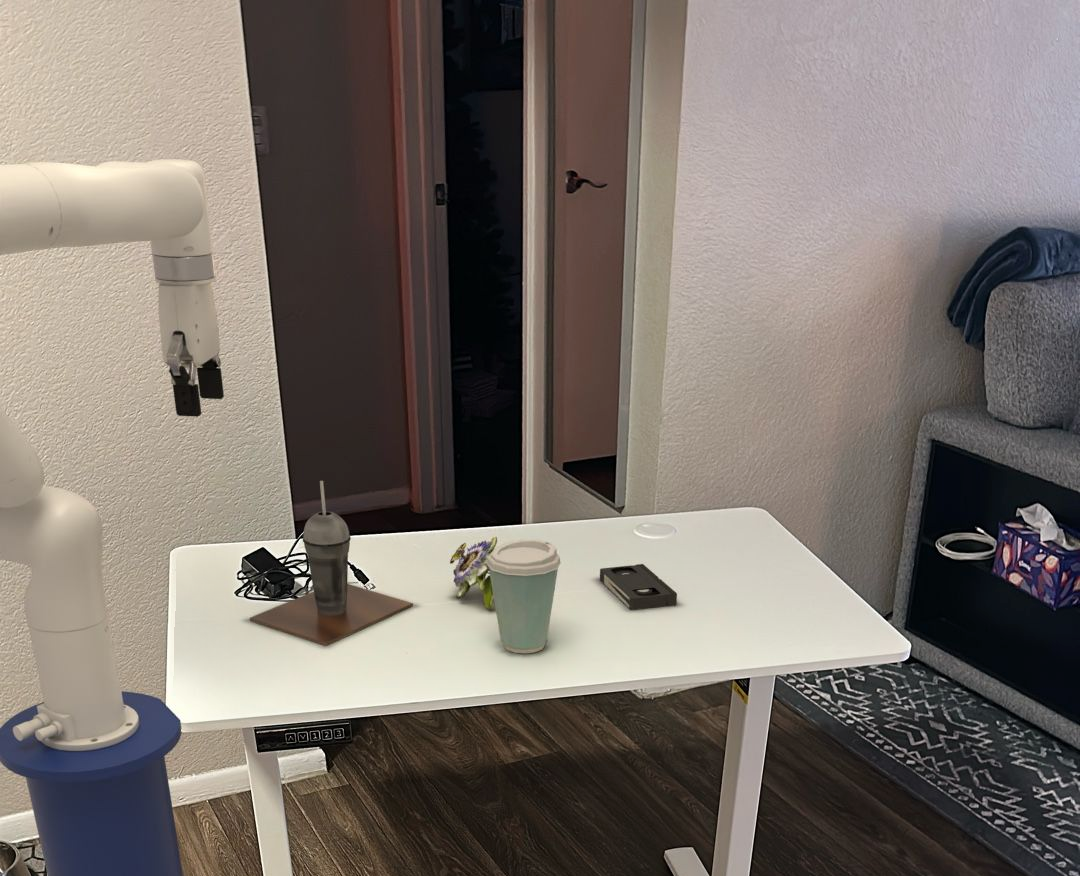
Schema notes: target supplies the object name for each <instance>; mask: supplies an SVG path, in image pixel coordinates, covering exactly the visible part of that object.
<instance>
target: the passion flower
mask: <svg viewBox="0 0 1080 876" xmlns="http://www.w3.org/2000/svg"><path fill="white" fill-rule="evenodd" d="M497 543H498V537H497V536H493V537H492V538H491V540H490V541H489V540H488V541H487V540H486V539H485V540H483V541H481V542H479V541H478V543H474V544H473V545H470V548H469V547H467V543H466V542H464V543H462V544H461V545H460V546H459V547H457V549H456V550H455V552H454V553H453V554H452V555H451V558H450V560H449V564H450V565H453V564H454V562H455V561H458V562H457V564H456V565H455V567H454V569H453V571H452V573H453V575H454V578H453V583H454V584H455V587H457V588H458V592H457V594H455V597H456V598H459V599H461V598H462V597H464V596H466V594H467V593H468V592H469V591H470V589H471V587H474V586H476V585H478V588H479V589H480V591H481V592H482V596H483V602H484V603H483V604H484V607H485V608H486V609H487V610H489V611H490V612H492V611H493V610H494V609H493V608H494V606H493V605H494V604H495V602H494V596H493V590H492V585H491V579H490V573H489V567H488V565H487V558H488V557H489V555H490V554H491V553H492V551H493V550H494V548H496V547H497ZM466 550H467V552H466ZM465 553H466V554H465Z"/></svg>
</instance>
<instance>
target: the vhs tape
mask: <svg viewBox="0 0 1080 876" xmlns="http://www.w3.org/2000/svg"><path fill="white" fill-rule="evenodd" d="M599 581H600V583H602V584H603V585H604V586H605V587H606V588H607V589H608V590H609V591H610V592H611V593H612V594H613V595H614V596H615V597H616V598H618V600H619V601H620V602H622V603H623V605H625V606H626V607H627V608H628V609H629V610H631V611H635V610H644V609H652V608H662V607H666V606H667V607H670V606H671V607H672V606H677V600H678V593H677V592H676V591H675V590H673V589H672V587H670V586H669V585H668V584H667V583H666V582H665V581H663V580H662V579H661V578H659V576H657V575H656V573H654V572H653V571H652V570H651V569H649V568H648V567H647V566H646V565H645V564H644V563H638V564H634V565H632V564H631V565H622V566H621V565H620V566H613V567H611V566H610V567H602V568H600V569H599Z"/></svg>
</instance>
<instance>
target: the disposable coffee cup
mask: <svg viewBox="0 0 1080 876" xmlns="http://www.w3.org/2000/svg"><path fill="white" fill-rule="evenodd" d="M557 551H558V550H557V547H556V546H555V545H554V544H553V543H551V542H550V541H546V540H542V539H537V538H535V539H519V540H514V541H508V542H505V543H502V544H501V545H498V546H495V548H494V550H493V551H492V553H491V554H490V555H489V557H488V558H487V565H488V567H489V571H488V572H489V573H490V574H489V575H490V579H491V585H492V590H493V596H494V607H495V615H496V619H497V625H498V631H499V637H500V638H499V639H500V642H501V643H502V646H503V648H504V649H505V650H506V651H508V652H511V653H515V654H532V653H537V652H539V651H541V650H543V649H544V647H545V646H546V643H547V641H548V635H549V628H550V621H551V616H552V611H553V610H552V608H553V603H554V598H555V597H554V596H555V590H556V583H557V577H558V572H559V571H558V569H559V567H560V565H561V556H560V555H559V554H558V552H557Z"/></svg>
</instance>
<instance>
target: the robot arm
mask: <svg viewBox="0 0 1080 876" xmlns="http://www.w3.org/2000/svg"><path fill="white" fill-rule="evenodd" d="M207 194H208V193H207V185H206V178H205V173H204V169H203V168H202V166H201V164H199V163H198V162H196V161H194V160H189V159H183V158H182V159H180V158H163V159H162V158H161V159H154V160H149V161H148V162H143V161H119V160H111V161H105V162H102V163H101V162H100V163H99V164H97V165H96V166H95V165H94V166H92V165H85V164H77V163H69V162H52V161H35V162H21V163H10V164H0V256H5V255H12V254H19V253H27V252H35V251H40V250H41V251H43V250H49V249H50V250H51V249H58V248H82V247H83V248H84V247H93V246H103V245H110V244H122V243H123V244H124V243H137V242H138V243H139V242H149V243H150V249H151V257H152V263H153V272H154V279H155V284H158V295H157V299H158V303H157V304H158V319H159V332H160V333H159V334H160V345H161V353H162V354H161V356H162V360H163V363H164V364H165V365H166V366H168V367H169V370H168V373H169V374H170V383H171V385H172V390H173V399H174V406H175V413H176V415H177V416H179V417H194V418H195V417H197V418H198V417H201V415H202V407H201V406H202V405H201V399H207V400H222V399H223V398H224V396H225V394H224V385H223V374H222V368H221V366H222V361H221V358H220V355H219V354H220V349H221V348H220V346H221V345H220V332H219V322H218V316H217V308H216V302H215V296H214V291H213V285H212V284H213V283H215V282H216V281H217V277H216V270H215V259H214V249H213V242H212V232H211V230H212V229H211V222H210V213H209V212H210V211H209V203H208V195H207ZM187 369H188V371H187ZM196 376H197V382H198V383H196ZM44 482H45V472H44V467H43V464H42V461H41V459H40V457H39V455H38V453H37V452H36V450H35V449H34V447H33V445H32V444H31V443H30V441H29V440H28V439H27V438H26V436H25V435H24V434H23V433H22V431H21V430H20V428H18V427H17V425H16V424H15V422H14V421H13V420H12V419H11V417H10V416H9V415H8V414H7V413H6V411H5V410H4V408H2V407H1V406H0V560H2V561H7V562H12V563H18V564H20V565H25V566H28V567H29V568H30V570H31V575H30V579H29V582H28V584H27V587H26V589H25V593H24V597H23V599H24V600H23V605H24V607H23V608H24V614H25V620H26V624H27V625H28V631H29V636H30V640H31V646H32V651H33V655H34V661H35V665H36V670H37V675H38V680H39V684H40V689H41V694H42V699H43V702H44V703H43V704H41V705H38V706H37V710H38V715H35V716H34V717H33V720H31V721H28V722H24V723H22V724H19V725H17V726H15V727H13V733H14V735H15V737H16V738H17V739H18V740H19V741H22V740H24V739H27V738H29V737H31V736H34V734H35V736H36V738H37V739H38V740H39V741H41V742H42V743H43V744H45V745H46V746H48V747H51V748H53V749H58V750H63V751H90V750H97V749H101V748H106V747H109V746H112V745H115V744H118V743H120V742H122V741H124V740H126V739H127V738H129V737H130V736H132V735H133V734H134V733H135V732H136V730H137V729H138V727H139V718H138V714H137V712H136V711H135V710H134V709H132V708H131V707H129V706H127V705H124V704H123V698H122V692H121V691H122V686H121V681H120V675H119V670H118V664H117V658H116V652H115V646H114V639H113V635H112V629H111V628H112V627H111V622H110V616H109V612H108V605H107V600H106V593H105V586H104V578H103V577H104V575H103V548H104V547H103V544H104V530H103V529H104V528H103V523H102V519H101V516H100V513H99V512H98V511H97V509H96V507H95V506H94V505H93V504H92V503H91V502H90V501H89V500H88V499H87V498H85V497H84V496H82V495H81V494H78V493H77V492H73V491H71V490H69V489H65V488H61V487H55V486H49V485H44Z"/></svg>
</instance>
